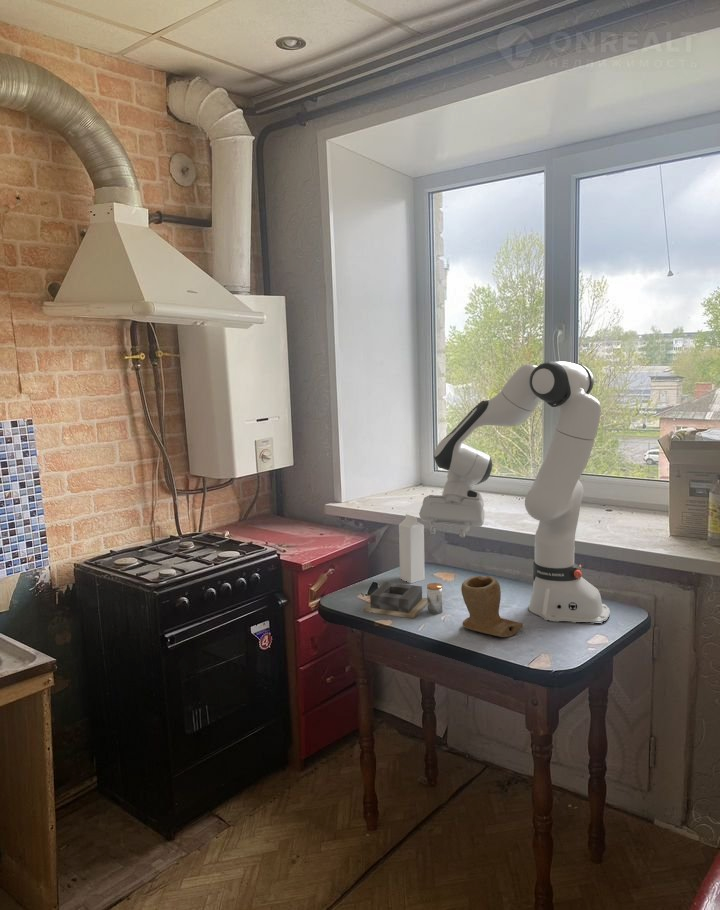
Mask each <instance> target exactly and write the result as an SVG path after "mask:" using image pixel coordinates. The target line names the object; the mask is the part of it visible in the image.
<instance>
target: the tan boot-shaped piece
mask: <svg viewBox="0 0 720 910" xmlns="http://www.w3.org/2000/svg"><path fill="white" fill-rule="evenodd" d="M460 590H461V595H462V599H463V602H464V604H465V607H466V608H467V611H468V614H469V617H467V618H465V619H464V620H463V621H462V623H461V625H462V627H464V628H466V629H468V630H471V631H474V632H477V633H478V632H479V633H481V634H486V635H490V636H495V637H500V638H509V637H512V636H514V635H515V634H517V633H519V632H521V630H522V629H523V628H524V623H521V622H520V621H519V622H518V621H514V620H509V619H506V618H503V617H501V616H500V605H501V597H502V595H501V593H502V591H501V586H500V583H499V581H498V580H497V579H496V578H495V577H493V576H491V575H488V576H486V575H485V576H482V575H476V576H472V577H470V578H467V579H465V580H464V581H463V582H462V583H461V589H460Z"/></svg>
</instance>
